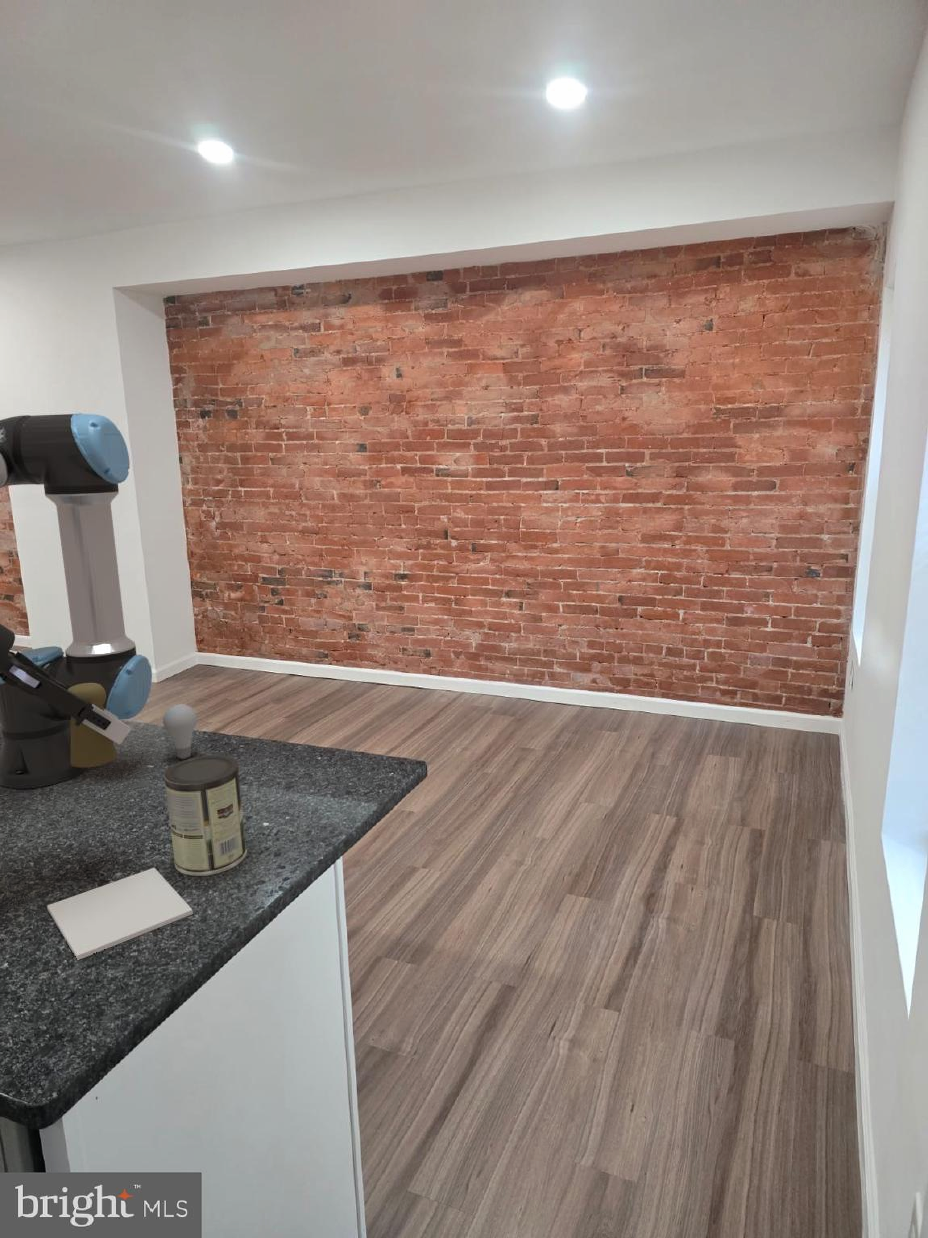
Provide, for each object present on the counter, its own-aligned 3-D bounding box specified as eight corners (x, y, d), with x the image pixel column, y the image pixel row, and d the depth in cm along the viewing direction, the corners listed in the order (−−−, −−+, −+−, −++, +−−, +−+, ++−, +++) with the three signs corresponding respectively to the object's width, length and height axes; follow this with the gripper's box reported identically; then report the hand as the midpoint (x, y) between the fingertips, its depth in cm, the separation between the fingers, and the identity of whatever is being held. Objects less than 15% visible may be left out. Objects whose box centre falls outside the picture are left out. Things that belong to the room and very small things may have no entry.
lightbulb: (161, 760, 153) (154, 706, 151) (187, 750, 158) (182, 697, 155) (180, 767, 150) (174, 712, 147) (207, 756, 155) (202, 703, 152)
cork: (99, 768, 110) (89, 692, 107) (60, 766, 111) (49, 691, 108) (125, 752, 115) (116, 679, 113) (89, 749, 117) (79, 677, 114)
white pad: (47, 909, 105) (47, 905, 105) (154, 871, 113) (154, 867, 113) (77, 960, 94) (76, 956, 94) (192, 914, 103) (192, 909, 103)
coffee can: (197, 838, 123) (187, 752, 120) (258, 843, 121) (251, 756, 118) (159, 873, 113) (147, 781, 110) (225, 880, 111) (216, 786, 108)
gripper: (-63, 651, 107) (83, 735, 121) (-41, 680, 93) (121, 771, 107) (-24, 606, 109) (115, 694, 123) (4, 628, 95) (157, 724, 109)
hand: (118, 730), depth 115 cm, fingers closed on cork, 5 cm apart
